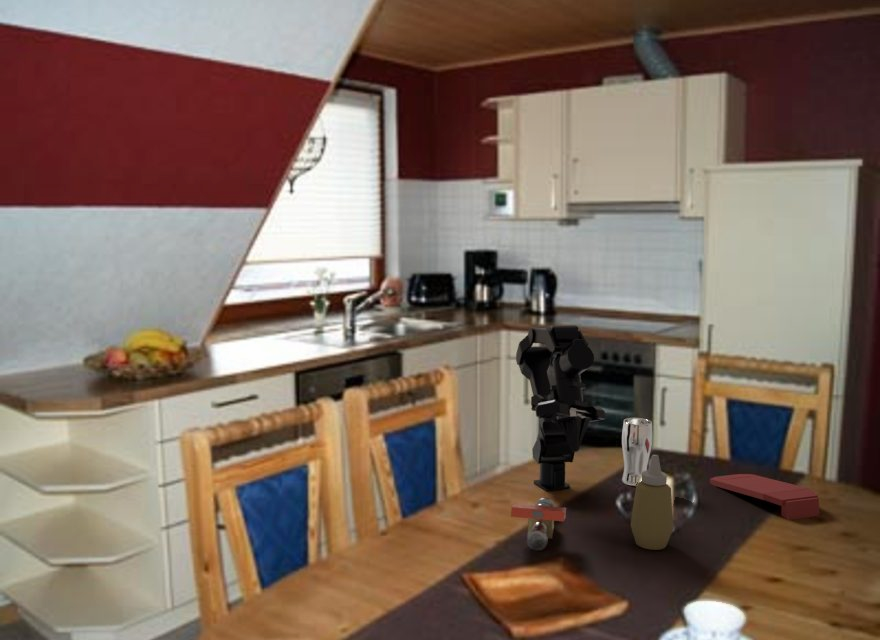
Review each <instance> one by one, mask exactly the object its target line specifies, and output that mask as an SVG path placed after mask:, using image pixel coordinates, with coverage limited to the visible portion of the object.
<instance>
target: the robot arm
mask: <svg viewBox="0 0 880 640" xmlns="http://www.w3.org/2000/svg"><path fill="white" fill-rule="evenodd" d="M534 344H543V345H545V346H539V345H538V346H535V345H534ZM533 345H534V346H533ZM555 353H556V354H555ZM554 354H555V356H554ZM594 355H595V354H594V352H593V350H592V349H591V348H590V346H589V343H588V341H587V340H586V338H585V337H584V335H583V333H582V330H580V329H579V327H578V325H576V324H565V325H563V324H561V325H558V324H557V325H556V324H555V325H548V326H532V327H530V328H529V329H528V332H527V335H526V336H524V338H523V339H522V340H521V341H519V343H518V346H517V350H516V355H515V361H516V365H518V367H519V371H520V373H521V375H523V376H524V377H525V378H526V379H527V380H528V381H529V383H530V388H531V392H532V396H531V397H530V405H531V410H532V411H534V412H535V416H536V417H538V422H539V425H540V429H539V431H538V435H537V437H536V441H535V443H534V444H533V446H532V451H531V452H532V459H533V460H534V461H535V462H536V463H537V464H539V479H535V480H533V483H534V484H535V485H537V486H538V487H540V488H542V489H543V490H544V491H546V492H547V491H548V492H550V491H556V490H557V491H558V490H562V489H563V490H564V489H569V488H571V485H570V484H568V483H567V482H566V463H573V462H574V458H575V453H577V452H579V450H580V447H581V444H582V442H583V439H584V436H585V434H586V431H587V428H588V427H589V423H592V422H598V421H602V420H606V413H605V409H603V408H602V407H601V406H595V405H590V406H589V405H588V401H584V394H583V390H584V389H585V390H586V388H587V387H586V386H587V385H586V383H584V382H582V379H581V377H582V376H581V374H583V372H585V371H586V370H589V368H591V366H592V365H593V364H594V361H595V356H594ZM553 357H554V358H553ZM551 364H552V366H553V376H554V377H553V378H554V385H551V381H550V378H549V375H548V372H549V369H550V366H551Z"/></svg>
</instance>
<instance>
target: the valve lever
mask: <svg viewBox="0 0 880 640" xmlns="http://www.w3.org/2000/svg"><path fill="white" fill-rule="evenodd" d="M510 509H511V510H510V517H511V518H522V519H528V518H531V519H542V520H553V521H554V522H565V520H566V519H567V517H566V516H567V507H560V506H555V507H550V506H548V504H538V503H536V502H535V504H527V503H525V504H524V503H514V504H513V505H512V506H511V508H510Z"/></svg>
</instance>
